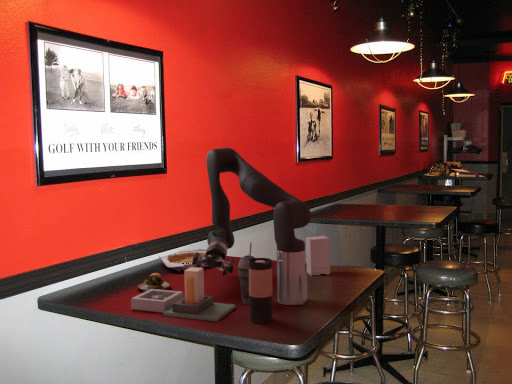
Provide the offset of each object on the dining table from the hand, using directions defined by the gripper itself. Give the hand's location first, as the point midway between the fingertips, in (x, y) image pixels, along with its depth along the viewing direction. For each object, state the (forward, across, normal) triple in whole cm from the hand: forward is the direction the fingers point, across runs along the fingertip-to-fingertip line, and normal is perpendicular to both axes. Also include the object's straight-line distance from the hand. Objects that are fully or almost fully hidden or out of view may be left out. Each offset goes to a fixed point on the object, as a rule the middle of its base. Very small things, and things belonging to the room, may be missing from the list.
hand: (211, 270), depth 178 cm
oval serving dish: (-53, -11, +22) cm, 58 cm away
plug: (+12, -2, +8) cm, 14 cm away
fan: (+5, -11, +13) cm, 18 cm away
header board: (+13, 0, +9) cm, 16 cm away
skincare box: (-35, +41, +6) cm, 54 cm away
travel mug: (+22, +18, +3) cm, 29 cm away
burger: (-13, -19, +18) cm, 29 cm away
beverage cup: (+4, +15, +7) cm, 16 cm away
